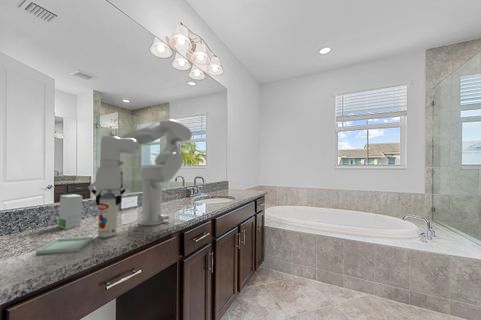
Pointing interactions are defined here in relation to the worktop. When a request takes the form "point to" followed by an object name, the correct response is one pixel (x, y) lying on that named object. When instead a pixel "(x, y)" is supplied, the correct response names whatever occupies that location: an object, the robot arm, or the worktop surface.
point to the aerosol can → (107, 215)
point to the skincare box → (70, 211)
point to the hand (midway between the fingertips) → (108, 204)
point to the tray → (64, 245)
